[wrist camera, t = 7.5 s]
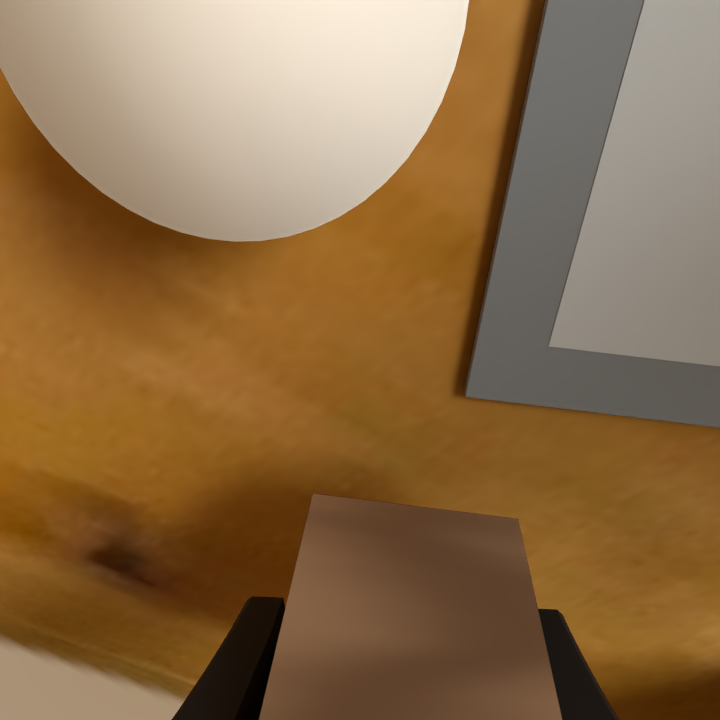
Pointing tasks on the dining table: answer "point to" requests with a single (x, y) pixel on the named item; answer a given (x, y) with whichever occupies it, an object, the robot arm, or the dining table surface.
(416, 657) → the walnut block
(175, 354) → the dining table surface
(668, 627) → the dining table surface
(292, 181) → the cream rounded capsule
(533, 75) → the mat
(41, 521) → the dining table surface
